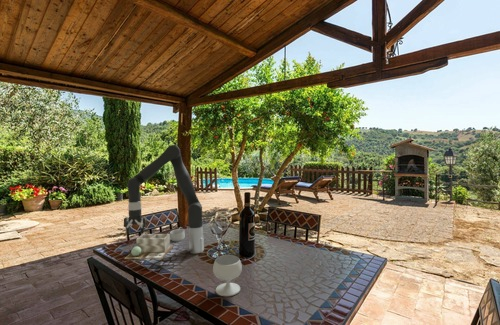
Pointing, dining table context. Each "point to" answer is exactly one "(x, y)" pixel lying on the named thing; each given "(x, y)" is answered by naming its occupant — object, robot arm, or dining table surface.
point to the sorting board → (152, 246)
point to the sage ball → (136, 251)
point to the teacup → (177, 235)
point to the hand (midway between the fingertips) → (135, 233)
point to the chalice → (227, 274)
